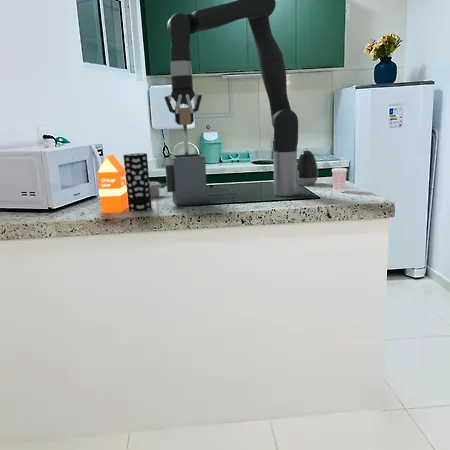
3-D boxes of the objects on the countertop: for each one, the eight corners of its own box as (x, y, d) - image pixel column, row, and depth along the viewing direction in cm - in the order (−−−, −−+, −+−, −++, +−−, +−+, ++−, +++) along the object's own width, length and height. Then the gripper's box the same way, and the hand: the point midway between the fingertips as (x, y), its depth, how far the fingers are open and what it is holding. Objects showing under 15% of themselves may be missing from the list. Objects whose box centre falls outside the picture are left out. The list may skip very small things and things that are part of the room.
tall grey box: (201, 198, 178) (199, 153, 173) (207, 204, 167) (204, 156, 162) (166, 202, 175) (163, 155, 170) (170, 207, 164) (166, 158, 159)
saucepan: (181, 197, 184) (180, 183, 183) (132, 200, 182) (131, 186, 180) (180, 192, 195) (179, 179, 194) (133, 195, 193) (132, 182, 191)
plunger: (197, 172, 173) (193, 107, 167) (201, 175, 165) (198, 107, 159) (174, 174, 171) (170, 108, 165) (177, 177, 163) (172, 108, 157)
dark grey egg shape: (295, 186, 196) (294, 151, 192) (295, 182, 206) (295, 149, 202) (318, 186, 194) (319, 151, 190) (317, 182, 204) (318, 148, 200)
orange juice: (101, 212, 161) (94, 157, 156) (108, 207, 169) (102, 154, 164) (122, 212, 160) (116, 156, 155) (128, 206, 169) (123, 153, 164)
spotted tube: (141, 212, 158) (135, 155, 153) (124, 210, 163) (118, 155, 158) (156, 207, 165) (151, 153, 160) (139, 205, 170) (134, 153, 165)
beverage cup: (329, 191, 180) (329, 157, 177) (334, 189, 185) (334, 155, 182) (344, 192, 177) (345, 157, 173) (348, 190, 182) (349, 155, 178)
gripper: (199, 75, 164) (201, 123, 169) (160, 76, 161) (164, 125, 165) (203, 73, 157) (205, 123, 161) (162, 74, 154) (166, 125, 158)
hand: (184, 123), depth 163 cm, fingers closed on plunger, 4 cm apart
